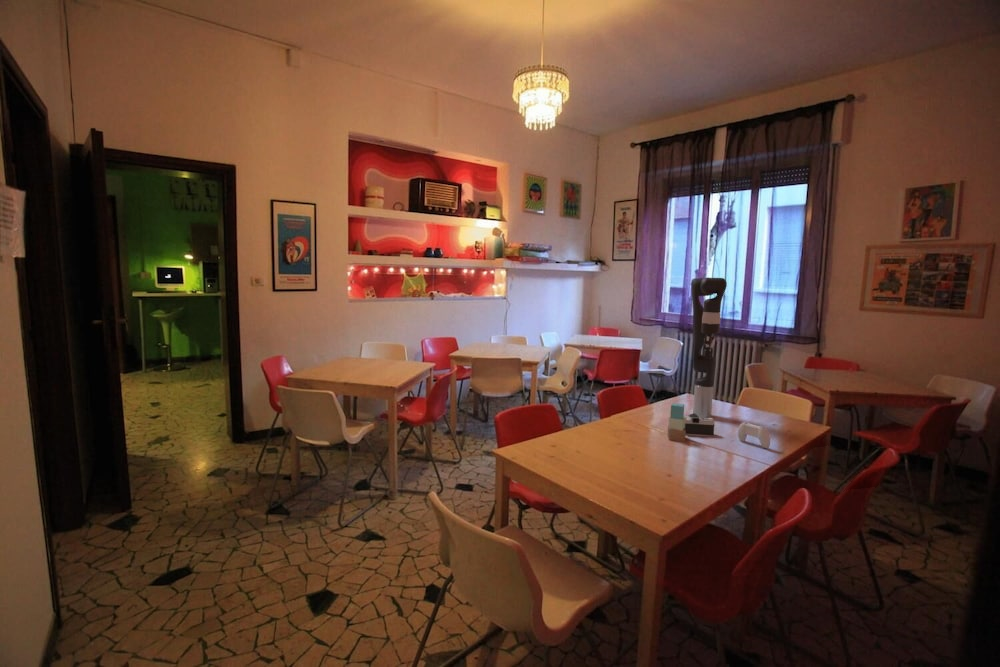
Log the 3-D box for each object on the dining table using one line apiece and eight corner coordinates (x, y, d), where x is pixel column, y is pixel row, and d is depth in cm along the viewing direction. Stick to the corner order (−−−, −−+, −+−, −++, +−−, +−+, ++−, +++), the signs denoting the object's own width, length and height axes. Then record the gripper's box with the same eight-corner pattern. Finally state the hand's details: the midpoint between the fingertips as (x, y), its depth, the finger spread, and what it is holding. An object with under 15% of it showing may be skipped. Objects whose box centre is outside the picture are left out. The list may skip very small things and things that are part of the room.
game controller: (771, 449, 206) (773, 427, 205) (765, 451, 204) (767, 428, 203) (740, 440, 218) (741, 419, 217) (734, 441, 216) (736, 420, 215)
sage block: (671, 425, 222) (672, 415, 222) (684, 427, 219) (685, 417, 219) (668, 428, 217) (669, 417, 217) (682, 430, 214) (682, 420, 213)
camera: (710, 431, 230) (711, 411, 229) (715, 437, 222) (717, 416, 221) (676, 429, 232) (677, 409, 231) (680, 435, 224) (682, 414, 223)
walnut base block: (667, 435, 223) (668, 425, 222) (683, 437, 221) (683, 426, 220) (668, 440, 216) (669, 429, 215) (685, 441, 214) (685, 431, 214)
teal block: (672, 415, 221) (673, 403, 220) (683, 417, 218) (684, 404, 218) (670, 417, 216) (671, 405, 216) (681, 419, 214) (682, 406, 213)
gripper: (704, 321, 220) (701, 355, 221) (699, 322, 207) (697, 359, 209) (721, 322, 216) (719, 357, 217) (718, 323, 204) (715, 360, 205)
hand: (708, 358), depth 213 cm, fingers open, 8 cm apart
